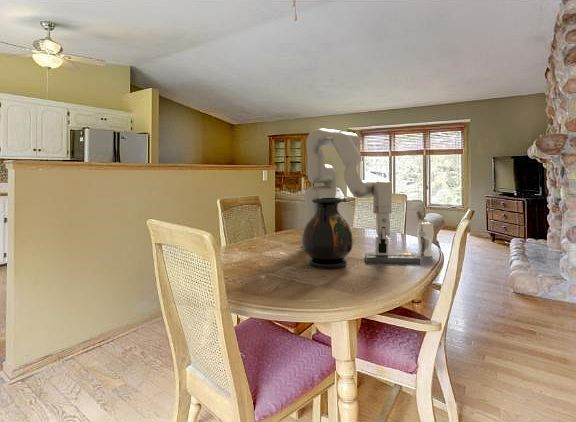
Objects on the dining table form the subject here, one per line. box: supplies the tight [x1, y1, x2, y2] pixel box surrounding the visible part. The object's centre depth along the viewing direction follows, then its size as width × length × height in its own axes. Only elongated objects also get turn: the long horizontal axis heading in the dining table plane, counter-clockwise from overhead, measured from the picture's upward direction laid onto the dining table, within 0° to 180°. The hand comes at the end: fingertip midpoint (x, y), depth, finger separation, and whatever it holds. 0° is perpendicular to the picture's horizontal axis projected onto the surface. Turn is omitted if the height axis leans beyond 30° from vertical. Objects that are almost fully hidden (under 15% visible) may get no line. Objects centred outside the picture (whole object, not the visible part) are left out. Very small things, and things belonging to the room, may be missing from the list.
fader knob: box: [374, 236, 389, 255], centre depth 153 cm, size 5×4×7 cm
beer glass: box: [416, 221, 435, 258], centre depth 161 cm, size 7×7×15 cm
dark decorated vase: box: [301, 197, 354, 270], centre depth 148 cm, size 22×22×28 cm
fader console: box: [364, 252, 422, 265], centre depth 153 cm, size 22×9×3 cm, turn 82°
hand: (381, 251), depth 153 cm, fingers closed on fader knob, 4 cm apart
